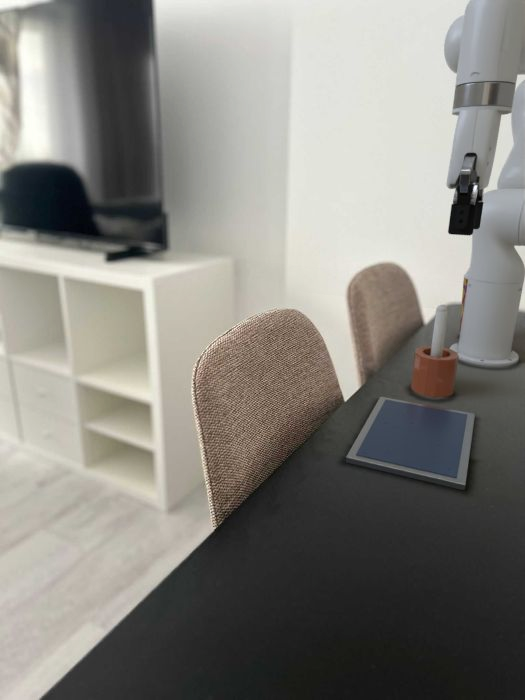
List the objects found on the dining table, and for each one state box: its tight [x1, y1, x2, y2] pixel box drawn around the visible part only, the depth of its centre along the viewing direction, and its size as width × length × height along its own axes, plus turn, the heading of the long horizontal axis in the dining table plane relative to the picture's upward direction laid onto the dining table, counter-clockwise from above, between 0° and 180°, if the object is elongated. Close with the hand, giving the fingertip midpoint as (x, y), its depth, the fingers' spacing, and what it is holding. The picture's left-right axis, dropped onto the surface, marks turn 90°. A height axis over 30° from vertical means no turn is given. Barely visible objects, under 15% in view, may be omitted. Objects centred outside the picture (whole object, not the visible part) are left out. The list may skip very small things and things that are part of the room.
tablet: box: [345, 396, 476, 491], centre depth 70 cm, size 20×14×1 cm
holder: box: [410, 345, 459, 398], centre depth 83 cm, size 7×7×7 cm
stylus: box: [430, 304, 449, 357], centre depth 82 cm, size 2×2×14 cm
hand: (464, 231), depth 75 cm, fingers open, 9 cm apart
